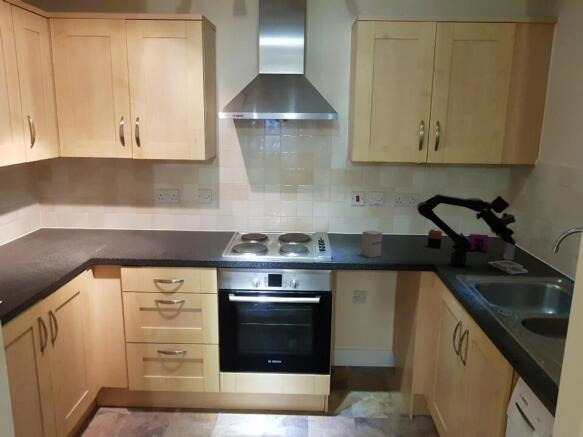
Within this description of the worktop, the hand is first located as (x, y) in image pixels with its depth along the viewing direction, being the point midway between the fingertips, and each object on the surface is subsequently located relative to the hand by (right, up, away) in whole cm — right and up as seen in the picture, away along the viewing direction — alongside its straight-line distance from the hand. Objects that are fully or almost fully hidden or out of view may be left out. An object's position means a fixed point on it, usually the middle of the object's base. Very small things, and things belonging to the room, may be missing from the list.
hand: (513, 243), depth 222 cm
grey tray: (-1, -12, +3) cm, 13 cm away
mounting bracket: (-3, -5, +38) cm, 39 cm away
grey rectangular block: (-1, -7, +2) cm, 8 cm away
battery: (-26, -4, +38) cm, 47 cm away
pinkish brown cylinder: (-65, -8, +21) cm, 68 cm away
